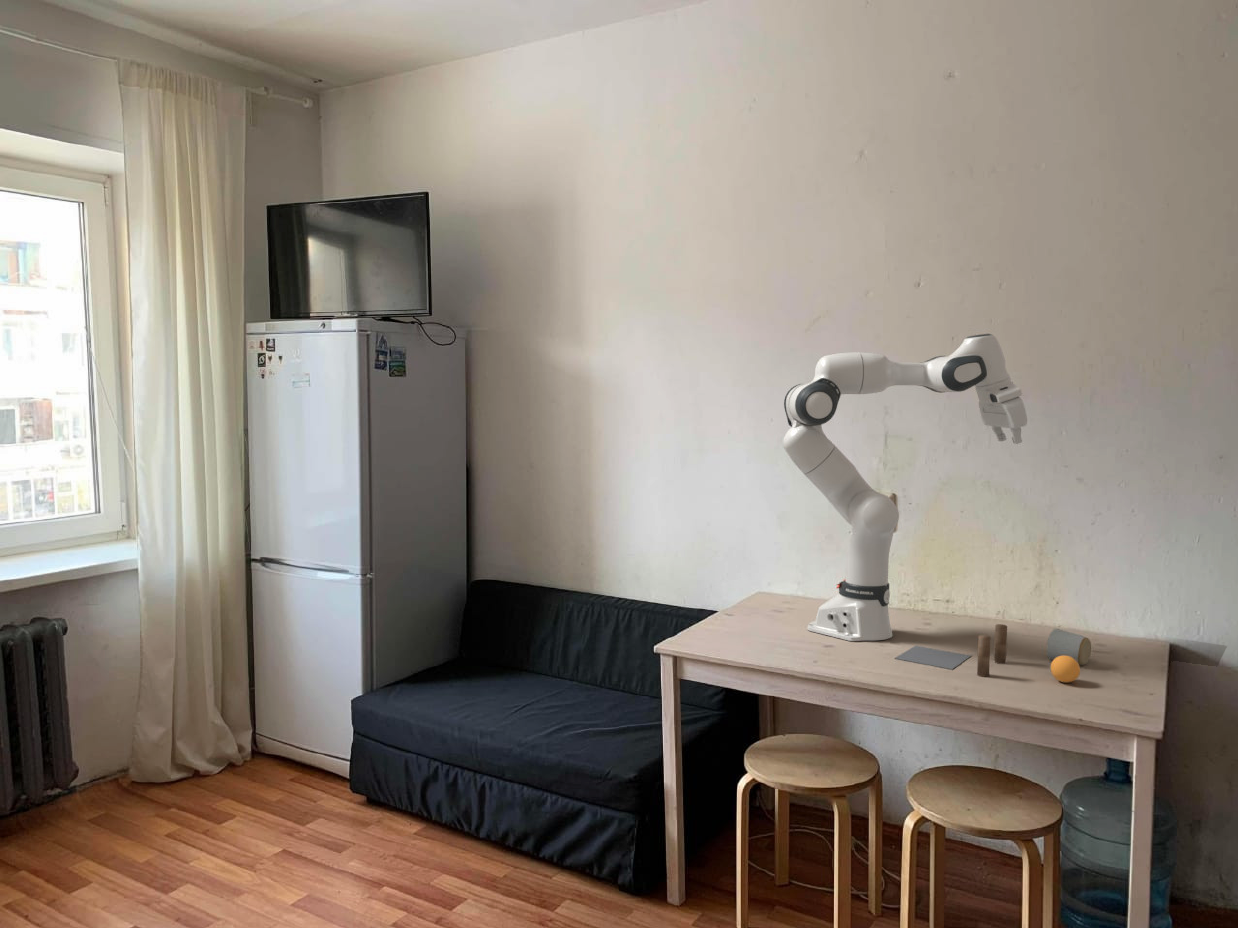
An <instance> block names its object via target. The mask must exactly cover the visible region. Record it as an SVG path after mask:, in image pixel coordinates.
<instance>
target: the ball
mask: <svg viewBox="0 0 1238 928" xmlns="http://www.w3.org/2000/svg"><path fill="white" fill-rule="evenodd" d="M1050 672H1051V674H1052V676H1053V677H1054V678H1055V679H1056V680H1057V681H1059V682H1061V683H1072V682H1075V681H1076V680H1077V679H1078V678H1079V676H1080V673H1081V668H1080V666H1079V664H1078V662H1077V661H1076V660H1075V659H1074V658H1072V657H1070V656H1065V655H1063V656H1059V657H1057V658H1055V659H1054V660H1051V663H1050Z"/></svg>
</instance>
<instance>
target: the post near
mask: <svg viewBox="0 0 1238 928" xmlns="http://www.w3.org/2000/svg"><path fill="white" fill-rule="evenodd" d="M977 640H978V641H977V642H978V643H977V668H976V669H977V670H976V671H977V672H976V676H979V677H984V678H986V677H987V678H988V677H990V666H991V665H990V663H991V662H990V661H991V636H989V635H979V636H978V639H977Z"/></svg>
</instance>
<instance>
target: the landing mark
mask: <svg viewBox="0 0 1238 928" xmlns="http://www.w3.org/2000/svg"><path fill="white" fill-rule="evenodd" d="M970 656H971V657H972V655H971V654H965V653H964V654H963V653H960V652H954V651H948V650H941V649H937V648H930V647H925V646H921V645H920V646H919V645H914V646H912V647H911V648H909V649H907V650H906V651H904V652H903V653H901V654H899V655H898V656H896V657H894V660H899V661H903V662H910V663H915V664H921V665H925V666H931V667H934V668H935V667H936V668H940V669H947V670H954V669H955V668H957V667H958V666H959V664H960V665H961V664H962V663H964V662H965V661H967V660H968V659H970V658H971V657H970ZM969 657H970V658H969ZM966 659H967V660H966ZM963 661H964V662H963Z"/></svg>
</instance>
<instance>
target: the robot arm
mask: <svg viewBox="0 0 1238 928" xmlns="http://www.w3.org/2000/svg"><path fill="white" fill-rule="evenodd" d="M893 386H894V387H895V386H920V387H924V388H926V389H928V390H930V391H932V392H935V393H961V392H965V391H967V390H968V389H971V388H972V387H975V391H976V394H977V397H978V408H979V413H980V415H981V416H980V417H981V420H982V422H983V424H984V426H987V427H991V428H992V431H993V433H994V434H995V436H996V439H997V441H999V442H1004V441H1006V440H1007V437H1006V433H1005V432H1004V431H1003V429H1002V428H1005V429H1010V432H1012V437H1011V440H1012V443H1013V444H1015V445H1018V444H1021V443H1022V442H1023V439H1022V427H1025V426H1027V424H1028V416H1027V411H1026V408H1025V405H1024V401H1023V399H1022V396H1023V392H1022V391H1023V390H1022V389H1021V388H1020V387H1019V386H1018V385H1016V384H1015V383H1014V382H1013V381H1012V380H1011V376H1010V374H1009V373H1008V371H1007V369H1006V359H1005V356H1004V354H1003V349H1002V346H1001V345H1000V342H999V341H998V339H997V337H996V336H995V335H993V334H992V333H983V334H975V335H969V336H967V337H965V338H964V340H963V342H962V343H961V344H960V345H959V346H958V347H957V349H955V351H954V352H952V353H951V354H950V355H947V356H946V355H939V356H934V357H932V358H930V359H928V360H925V361H923V362H922V361H921V362H909V361H907V362H903V361H902V362H901V361H898V362H897V361H893V360H890V359H889V357H887V356H885V355H883V354H879V353H875V352H866V351H865V352H862V351H854V352H853V351H849V352H840V353H833V354H828V355H823V356H822V357H821V358H819V360H818V361H817V363H816V364H815V368H814V377H813V379H812V380H811V381H809V382H805V383H799V384H796V385H794V386H793V387H791V388H790V389H789V390H788V391H787V393H786V395H785V396H784V402H783V407H784V412H785V415H786V419H787V424H788V426H790V428H789V429H788V430H787V431H786V433H785V435H784V437H783V439H782V446H783V448H784V451H785V452H786V454H787V455H788V456H789V459H791V461H792V462H793V464H794V465H795V466H796V467H797V469H799V471H801V473H803V476H805V477H806V478H807V479H808V480H809V481H810V482H811V483H812V484H813V485H814V486H815V487H816V488H817V489H818V490H819V491H820V492H821V494H822V495H823V496H825V498H826V499H827V501H828V502H829V503H830V504H831V505H832V506H833V509H835V510H836V512H838V513H839V515H840V516H841V517H842V518H843V519H844V520H845V522H847V523H848V524H849V525H851V526H852V527H851V536H850V539H849V544H848V548H847V550H846V552H845V578H844V579H843V580H841V581H840V582H839V583H837V584H836V588H835V589H838V593H837V594H835V595H834V596H832V597H831V598H830V599H828V600H826V602H823V603H822V604H821V605H820V606H819V608H818V609H817V612H816V613H817V614H816V616H815V620H813V621H811V622H809V623H808V624H807V628H806V629H807V631H809V632H813V633H817V634H821V635H826V636H829V637H834V638H837V639H842V640H845V641H849V642H860V641H861V642H862V641H883V640H888V639H891V638H892V637H893V631H892V626H891V621H890V615H889V614H890V613H889V603H890V593H891V592H890V583H889V559H890V552H891V550H890V549H891V546H892V541H893V536H894V532H895V528H896V526H897V525H898V523H899V517H900V514H899V509H898V507H897V506H896V504H895V502H894V501H893V500H892V499H891V498H890V497H889V496H888V495H886V494H884V493H880V492H878V491H876V490H875V489H874V488H872V487H871V486H870V484H868V482H867V481H866V480H865V479H864V477H863V476H862V474H860V472H859V471H858V469H857V467H856V466H855V464H853V463H852V462H851V461H850V460H849V459H848V458H847V457H846V455H845V454H844V453H843V452H842V451H841V450H840V449H839V448H838V447H837V446H836V445H835V444H834V443H833V442H832V441H831V440H830V439H829V438H828V437H827V435H826V434H825V433H824V430H823V428H822V425H824V424H826V423H827V422H829V421H830V420H831V419H833V417H834V415H835V414H836V411H837V409H838V404H839V401H840V398H841V396H842V395H868V394H876V393H882V392H884V391H886V390H887V389H888V388H890V387H893Z"/></svg>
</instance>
